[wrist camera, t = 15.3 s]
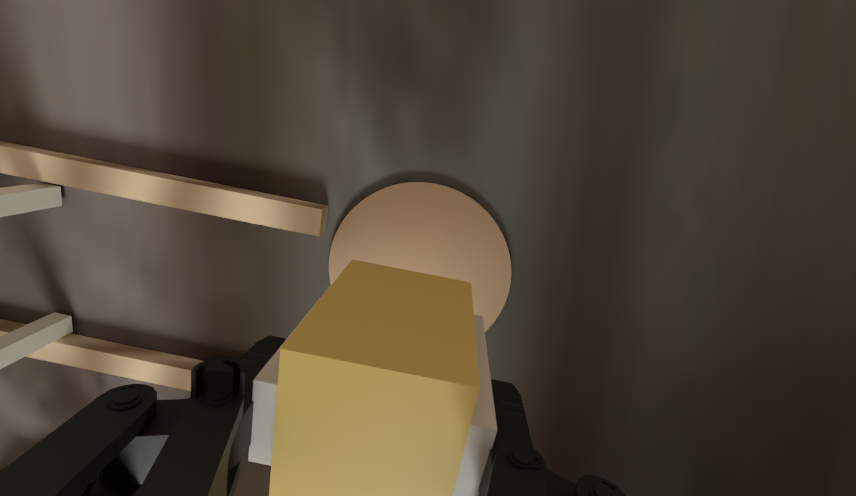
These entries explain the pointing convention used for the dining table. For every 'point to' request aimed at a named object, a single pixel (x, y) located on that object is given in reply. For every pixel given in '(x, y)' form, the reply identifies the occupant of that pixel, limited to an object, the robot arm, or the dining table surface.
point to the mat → (428, 240)
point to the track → (155, 191)
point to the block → (377, 387)
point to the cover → (53, 325)
